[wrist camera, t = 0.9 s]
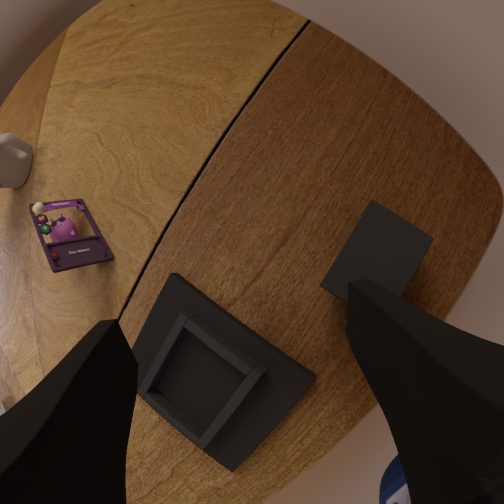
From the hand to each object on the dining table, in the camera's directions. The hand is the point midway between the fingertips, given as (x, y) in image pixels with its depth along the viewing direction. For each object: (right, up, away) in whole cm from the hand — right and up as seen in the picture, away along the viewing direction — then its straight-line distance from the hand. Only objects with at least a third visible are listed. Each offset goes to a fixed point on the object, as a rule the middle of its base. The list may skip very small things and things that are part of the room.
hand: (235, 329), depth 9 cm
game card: (-17, +3, +21) cm, 27 cm away
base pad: (-3, -8, +15) cm, 17 cm away
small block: (+9, +1, +11) cm, 15 cm away
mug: (-34, +16, +28) cm, 47 cm away
